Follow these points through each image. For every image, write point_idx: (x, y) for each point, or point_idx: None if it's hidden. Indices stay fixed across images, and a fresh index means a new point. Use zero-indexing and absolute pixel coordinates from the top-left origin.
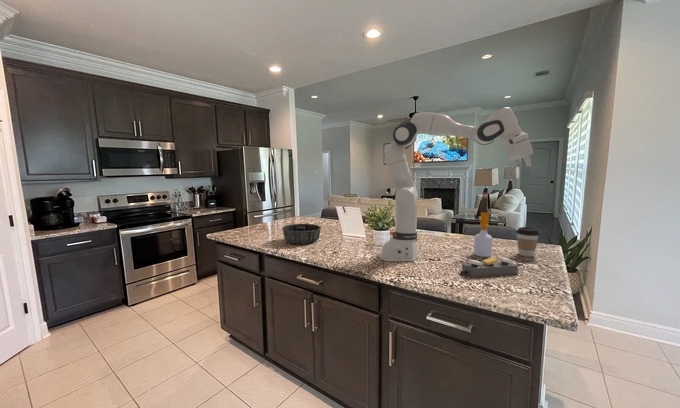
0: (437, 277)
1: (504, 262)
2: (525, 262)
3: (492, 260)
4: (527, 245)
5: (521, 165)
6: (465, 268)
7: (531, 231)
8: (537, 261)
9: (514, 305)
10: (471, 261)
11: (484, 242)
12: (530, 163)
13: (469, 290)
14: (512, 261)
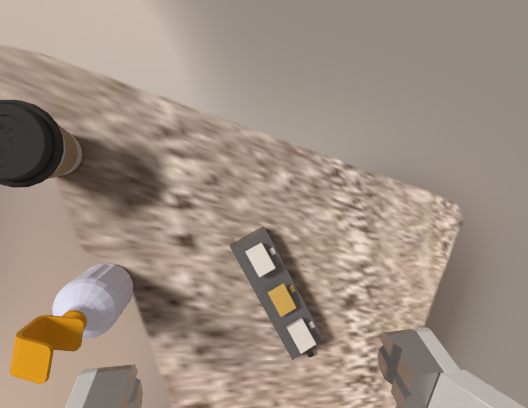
0: (335, 397)
1: None
2: (154, 180)
3: (286, 296)
4: (71, 156)
5: (124, 400)
6: None
7: (47, 140)
8: (131, 143)
9: (427, 271)
10: (310, 346)
11: (121, 304)
12: (440, 352)
13: None
14: (261, 243)
